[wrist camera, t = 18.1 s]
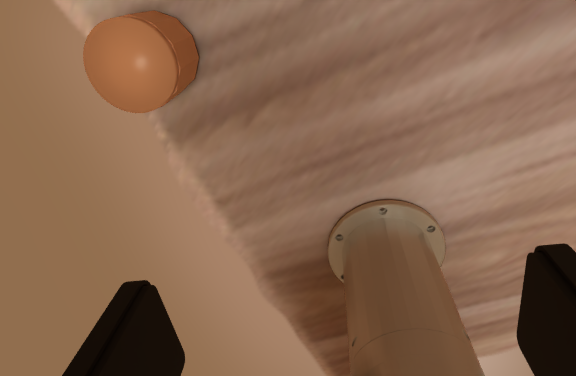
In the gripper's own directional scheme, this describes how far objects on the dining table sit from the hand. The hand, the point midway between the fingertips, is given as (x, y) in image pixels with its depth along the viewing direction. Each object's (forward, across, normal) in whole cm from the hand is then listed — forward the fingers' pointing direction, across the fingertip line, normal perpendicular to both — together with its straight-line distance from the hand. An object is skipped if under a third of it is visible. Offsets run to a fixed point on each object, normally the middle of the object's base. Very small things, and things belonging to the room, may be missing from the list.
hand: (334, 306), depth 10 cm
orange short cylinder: (+28, +14, -4) cm, 31 cm away
